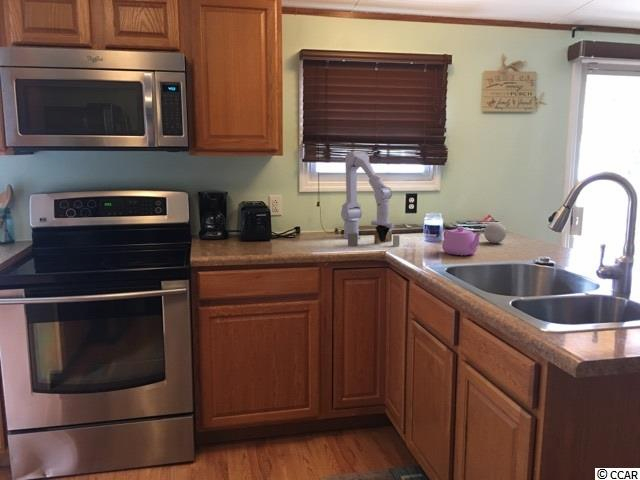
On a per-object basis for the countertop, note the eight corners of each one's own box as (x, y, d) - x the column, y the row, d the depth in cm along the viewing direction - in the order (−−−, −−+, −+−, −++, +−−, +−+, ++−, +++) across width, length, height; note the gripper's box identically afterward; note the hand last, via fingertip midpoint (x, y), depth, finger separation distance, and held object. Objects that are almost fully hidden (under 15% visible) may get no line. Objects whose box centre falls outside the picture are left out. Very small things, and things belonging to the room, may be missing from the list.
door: (389, 240, 252) (389, 231, 251) (391, 241, 251) (391, 232, 251) (374, 243, 245) (374, 234, 244) (376, 244, 244) (376, 234, 243)
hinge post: (386, 240, 254) (386, 230, 253) (390, 239, 255) (390, 230, 254) (387, 240, 252) (387, 230, 251) (391, 240, 252) (391, 230, 252)
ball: (503, 245, 237) (504, 224, 235) (481, 244, 242) (482, 223, 240) (507, 242, 246) (508, 221, 244) (485, 240, 250) (486, 220, 249)
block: (347, 244, 243) (347, 232, 242) (356, 244, 244) (356, 232, 243) (349, 246, 239) (349, 233, 238) (357, 246, 240) (357, 233, 239)
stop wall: (392, 245, 241) (393, 234, 240) (397, 245, 241) (398, 234, 240) (394, 246, 238) (394, 235, 237) (399, 246, 238) (399, 235, 237)
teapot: (433, 252, 223) (434, 226, 221) (451, 248, 231) (452, 223, 229) (472, 260, 208) (473, 231, 206) (490, 255, 216) (492, 228, 214)
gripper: (399, 214, 238) (399, 242, 240) (378, 211, 249) (378, 238, 252) (388, 215, 234) (388, 244, 236) (367, 212, 245) (367, 239, 248)
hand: (382, 241), depth 244 cm, fingers closed
